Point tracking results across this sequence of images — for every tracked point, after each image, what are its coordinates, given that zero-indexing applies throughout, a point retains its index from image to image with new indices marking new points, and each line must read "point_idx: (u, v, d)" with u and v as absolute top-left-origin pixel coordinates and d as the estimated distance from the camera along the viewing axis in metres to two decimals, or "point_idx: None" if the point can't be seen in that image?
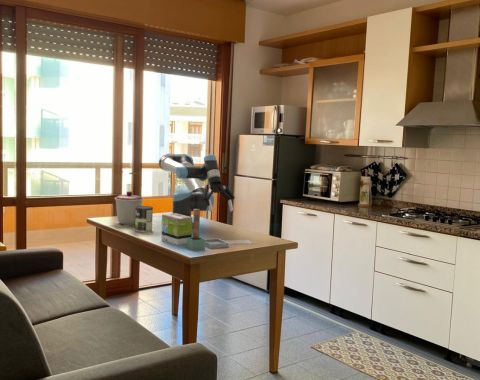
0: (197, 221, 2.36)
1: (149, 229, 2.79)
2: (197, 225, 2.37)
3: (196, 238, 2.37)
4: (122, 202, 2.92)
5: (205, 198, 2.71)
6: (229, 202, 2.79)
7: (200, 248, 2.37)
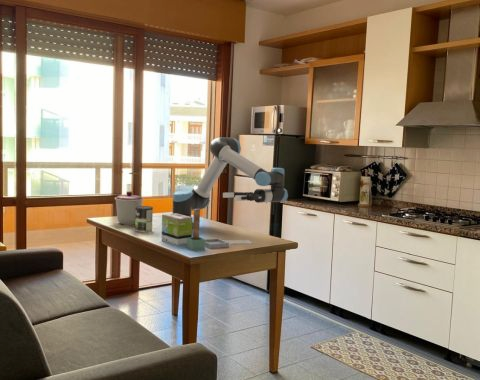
0: (197, 221, 2.36)
1: (149, 229, 2.79)
2: (197, 225, 2.37)
3: (196, 238, 2.37)
4: (122, 202, 2.92)
5: None
6: (231, 195, 2.60)
7: (200, 248, 2.37)
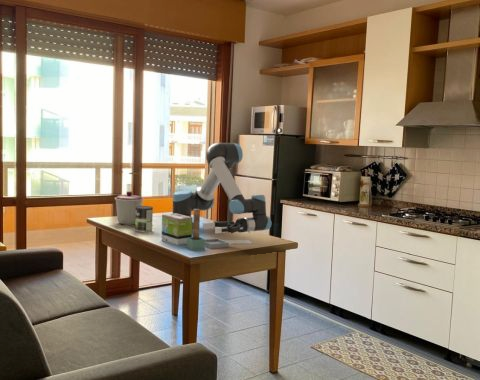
0: (197, 221, 2.36)
1: (149, 229, 2.79)
2: (197, 225, 2.37)
3: (196, 238, 2.37)
4: (122, 202, 2.92)
5: (230, 232, 2.37)
6: (212, 225, 2.49)
7: (200, 248, 2.37)
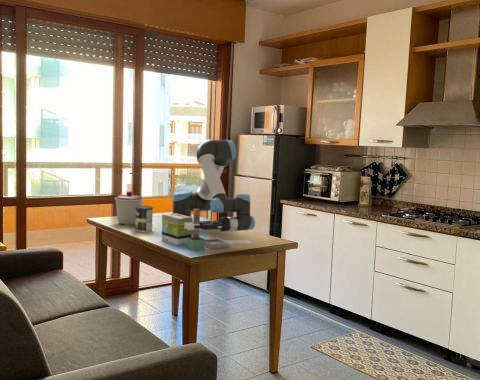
0: (197, 221, 2.36)
1: (149, 229, 2.79)
2: None
3: (196, 238, 2.37)
4: (122, 202, 2.92)
5: (203, 229, 2.35)
6: None
7: (200, 248, 2.37)
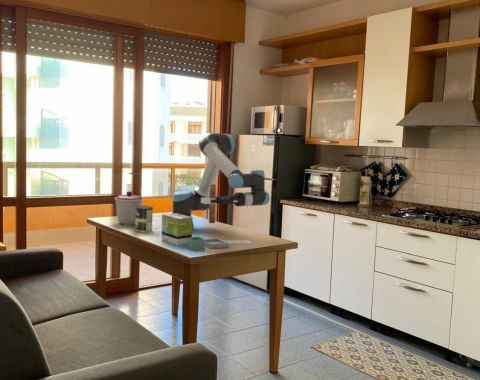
0: (213, 196, 2.42)
1: (149, 229, 2.79)
2: None
3: (212, 212, 2.43)
4: (122, 202, 2.92)
5: (219, 203, 2.42)
6: None
7: (200, 248, 2.37)
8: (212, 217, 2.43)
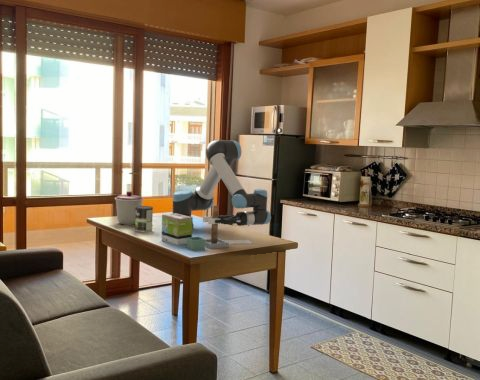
0: (216, 217, 2.45)
1: (149, 229, 2.79)
2: None
3: (215, 233, 2.46)
4: (122, 202, 2.92)
5: (223, 223, 2.43)
6: (212, 219, 2.49)
7: (200, 248, 2.37)
8: (215, 238, 2.46)
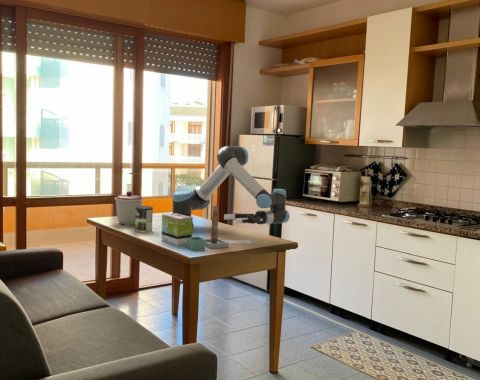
0: (216, 217, 2.45)
1: (149, 229, 2.79)
2: (216, 221, 2.45)
3: (215, 233, 2.46)
4: (122, 202, 2.92)
5: None
6: (233, 216, 2.59)
7: (200, 248, 2.37)
8: (215, 238, 2.46)
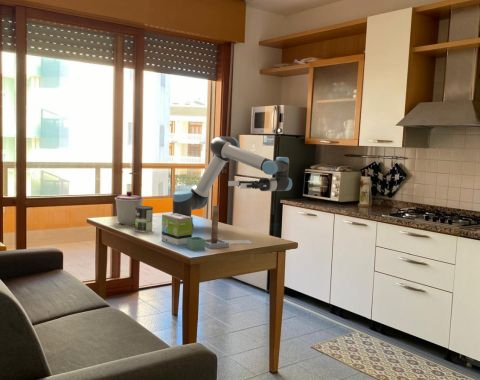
0: (216, 217, 2.45)
1: (149, 229, 2.79)
2: (216, 221, 2.45)
3: (215, 233, 2.46)
4: (122, 202, 2.92)
5: None
6: (237, 183, 2.64)
7: (200, 248, 2.37)
8: (215, 238, 2.46)
